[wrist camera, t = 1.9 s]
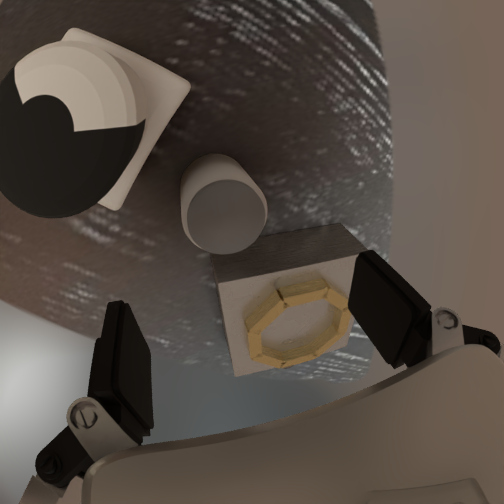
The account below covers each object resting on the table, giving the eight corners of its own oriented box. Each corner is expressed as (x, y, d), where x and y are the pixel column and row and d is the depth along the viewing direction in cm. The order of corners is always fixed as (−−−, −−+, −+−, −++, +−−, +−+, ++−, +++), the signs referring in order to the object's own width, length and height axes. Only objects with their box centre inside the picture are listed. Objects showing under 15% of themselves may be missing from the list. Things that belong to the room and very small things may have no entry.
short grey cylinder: (175, 159, 19) (174, 185, 14) (244, 149, 19) (269, 171, 15) (185, 221, 21) (190, 265, 16) (248, 211, 22) (271, 250, 17)
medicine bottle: (135, 174, 18) (95, 274, 9) (56, 134, 15) (-50, 195, 5) (189, 88, 16) (203, 77, 6) (105, 45, 13) (19, 0, 3)
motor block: (209, 245, 23) (220, 295, 18) (340, 223, 25) (378, 260, 20) (229, 355, 31) (240, 399, 26) (324, 331, 33) (345, 369, 28)
